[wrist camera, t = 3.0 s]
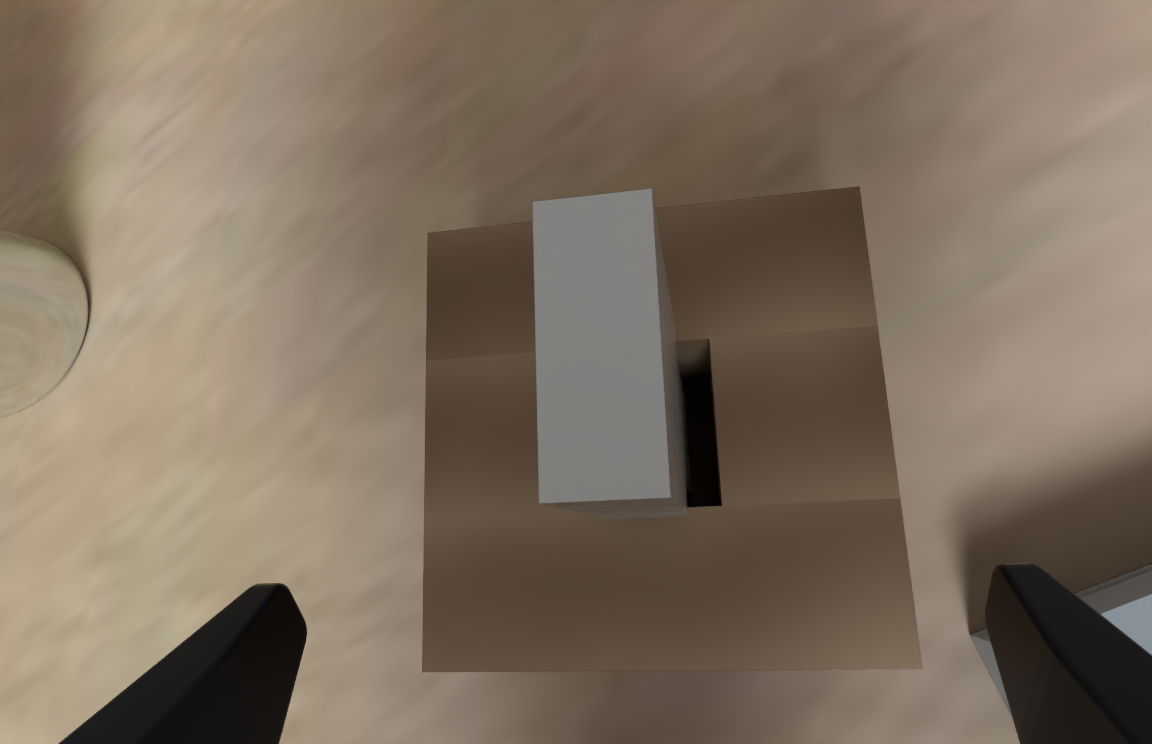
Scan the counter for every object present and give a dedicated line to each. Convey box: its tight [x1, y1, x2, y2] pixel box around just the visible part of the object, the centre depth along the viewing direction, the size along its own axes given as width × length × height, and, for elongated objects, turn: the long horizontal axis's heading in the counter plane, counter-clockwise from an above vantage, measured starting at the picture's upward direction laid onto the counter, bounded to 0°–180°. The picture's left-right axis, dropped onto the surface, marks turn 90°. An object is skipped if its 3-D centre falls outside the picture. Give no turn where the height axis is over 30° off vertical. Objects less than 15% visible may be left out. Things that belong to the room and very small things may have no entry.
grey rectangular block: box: [533, 189, 691, 519], centre depth 15 cm, size 4×2×11 cm, turn 2°
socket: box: [422, 186, 922, 672], centre depth 18 cm, size 10×10×4 cm
